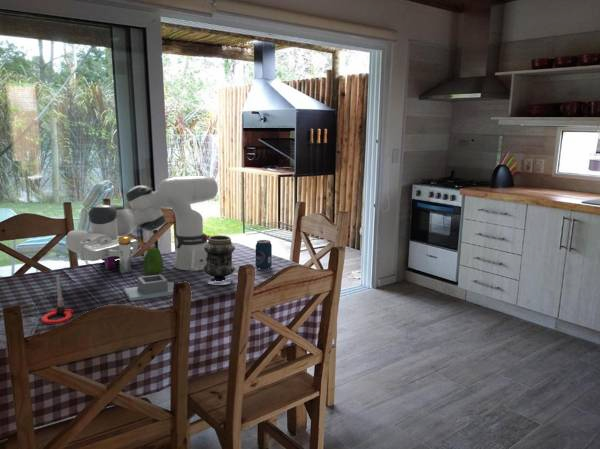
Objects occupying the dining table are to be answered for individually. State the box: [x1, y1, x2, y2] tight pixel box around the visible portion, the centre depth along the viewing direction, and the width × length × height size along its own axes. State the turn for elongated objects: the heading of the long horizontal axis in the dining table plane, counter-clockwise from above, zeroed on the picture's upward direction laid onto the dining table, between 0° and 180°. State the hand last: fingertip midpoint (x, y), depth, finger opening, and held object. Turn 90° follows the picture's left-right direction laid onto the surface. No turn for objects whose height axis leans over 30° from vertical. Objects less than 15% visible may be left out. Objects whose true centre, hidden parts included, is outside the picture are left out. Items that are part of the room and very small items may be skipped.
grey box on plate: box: [123, 273, 175, 302], centre depth 176 cm, size 18×11×5 cm, turn 120°
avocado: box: [142, 246, 164, 276], centre depth 195 cm, size 8×8×12 cm
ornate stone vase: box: [203, 234, 236, 281], centre depth 189 cm, size 12×12×18 cm
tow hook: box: [41, 274, 74, 325], centre depth 150 cm, size 8×13×9 cm
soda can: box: [254, 239, 273, 269], centre depth 210 cm, size 7×7×12 cm
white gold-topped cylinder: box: [118, 235, 132, 273], centre depth 172 cm, size 4×4×12 cm
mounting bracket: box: [101, 256, 120, 270], centre depth 211 cm, size 10×8×18 cm
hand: (126, 252), depth 171 cm, fingers closed on white gold-topped cylinder, 4 cm apart
